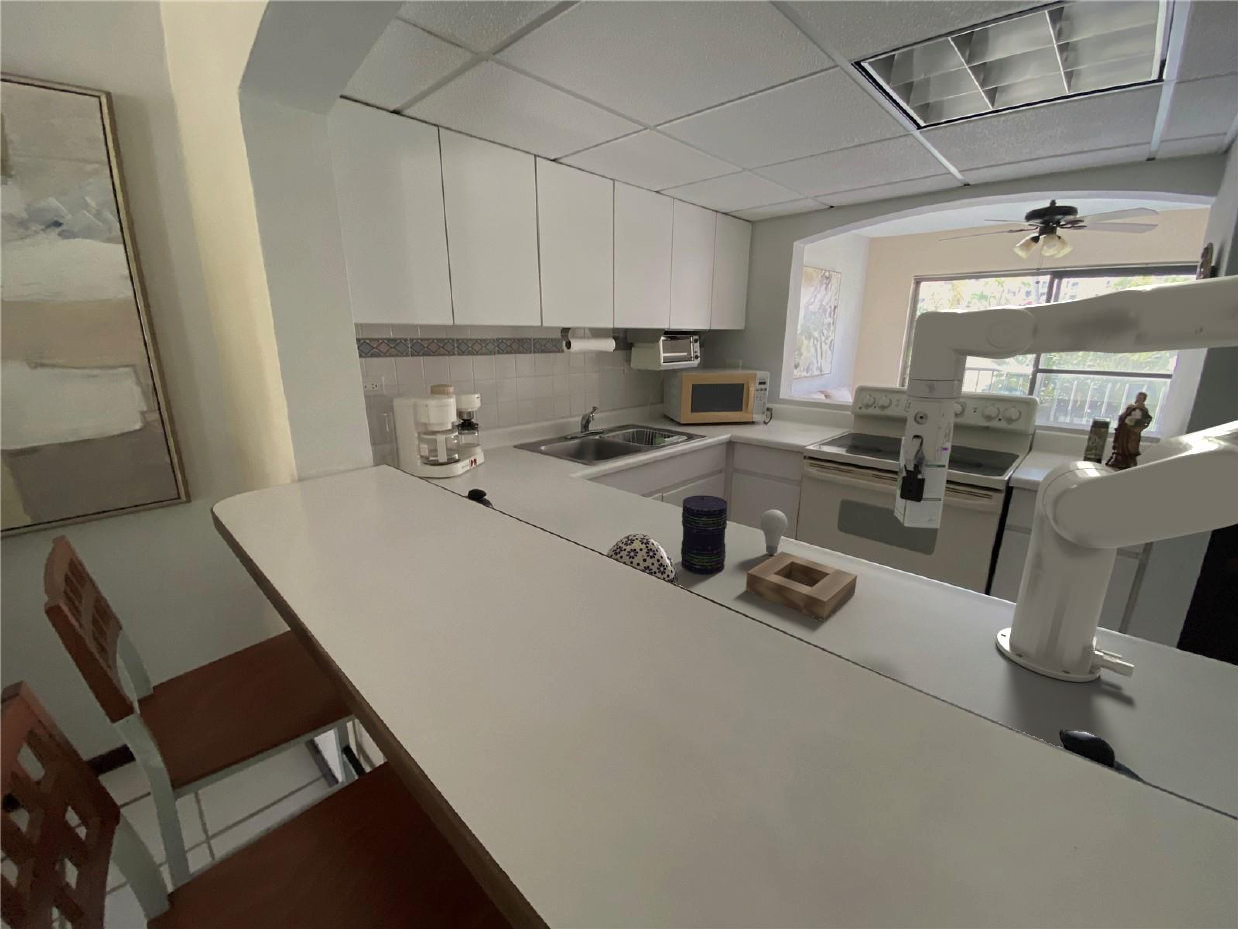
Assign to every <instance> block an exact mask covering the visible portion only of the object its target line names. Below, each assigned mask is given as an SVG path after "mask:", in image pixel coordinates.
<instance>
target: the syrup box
mask: <svg viewBox="0 0 1238 929" xmlns="http://www.w3.org/2000/svg"><path fill="white" fill-rule="evenodd" d="M904 437H905V436H902V438H901V444H900V452H899V453H900V454H899V460H898V470H897V471H898V473H897V479H896V488H895V497H894V508H893V516H894V517H895V519H897V520H898V522H899V523H900V524H901V525H902V526H904V527H907V528H919V529H920V528H922V529H924V528H925V529H940V528H941V522H942V514H943V509H944V508H943V507H944V501H945V493H946V484H947V478H948V470H949V469H948V468H949V460H950V454H951V452H950V447H951V448H952V445H951V444H949V443H947V442H945V443H944V444H943V445H944V446H943V452H942V458H941V461H939V462H938V463H936V464H931V461H928V463H927V466H926V470H925V473H924V476H923V478H926V479H925V486H924V493H923V500H922V501H921V502H915V501H909V500H904V499H901V498H900V491H901V483H902V476H903V470H904V464H905V458H904V457H903V444H904ZM920 453H921V449H920V451H919V453H918V455H917V458H920V459H924V456H922V455H920ZM918 466H919V470H920V467H921V464H918Z"/></svg>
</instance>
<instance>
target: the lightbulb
mask: <svg viewBox="0 0 1238 929" xmlns="http://www.w3.org/2000/svg"><path fill="white" fill-rule="evenodd" d="M788 522H789V521H788V518H787V517H786V515H785V514H784V513H783V512H782V511H781V510H778V509H769V510H766V511H765V512H763V513H762V515H761V517H760V519H759V524H760V525H759V526H760V528H761V530H762V533H763V534H764V535H763V536H764V539H765V540H764V542H765V545H766V546H765V552H766V553H767V554H768V555H771V556H774V555H776V554H778V548H779V545H780V543H781V542H780V541H781V538H782V536H783V534H784V533H785V531H786V530H787V528H788V525H789V524H788Z"/></svg>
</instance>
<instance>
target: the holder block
mask: <svg viewBox="0 0 1238 929" xmlns="http://www.w3.org/2000/svg"><path fill="white" fill-rule="evenodd" d="M857 578H858V575H857V574H854V573H851V572H848V571H845V570H841V569H839V568H835V567H832V566H829V565H825V564H823V563H819V562H817V561H814V560H811V559H807V558H804V557H801V556H798V555H794V554H792V553H788V552H785V551H780V552H777V553H776V554H774V555H772V556H771V557H770V558H768V559H767V560H765V561H763V562H762V563H759V564H758V565H757V566H755V567H753V568H752V569H750V570H748V571H747V572H746V582H745V583H746V584H745V585H746V586H745V590H746V591H747V592H749V593H752V594H755V595H757V596H760V597H762V598H764V599H767V600H769V601H771V602H775V603H777V604H779V605H782V606H784V607H787V608H789V609H791V610H795V611H797V612H800V613H802V614H804V613H805V615H807V614H808V615H807V616H809V615H810V617H812V616H814V617H815V619H817V618H818V619H817V620H819V619H821V620H820V621H822V620H825V619H826V620H827V619H829V617H831V616H832V615H833V614H834V613H835V612H836V611H837V610H838V609H840V608H841V607H842V606H843V605H844V604H845V603H846V602H848V601H849V600H850V599H851V598H852V597H853V596H854V595H855V594H856V588H857V587H856V585H857ZM802 582H803V583H802ZM805 583H806V584H805ZM810 585H812V586H810ZM854 593H855V594H854ZM853 594H854V595H853ZM852 595H853V596H852ZM851 596H852V597H851ZM850 597H851V598H850ZM844 602H845V603H844ZM843 603H844V604H843ZM841 605H842V606H841ZM832 613H833V614H832ZM831 614H832V615H831ZM814 617H813V618H814ZM826 620H825V621H826Z"/></svg>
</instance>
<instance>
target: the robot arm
mask: <svg viewBox="0 0 1238 929" xmlns="http://www.w3.org/2000/svg"><path fill="white" fill-rule="evenodd" d="M912 337H913V338H912V347H911V352H910V361H909V369H908V377H907V384H906V385H907V386H906V392H905V393H906V394H905V400H910V405H909V410H908V414H907V420H906V425H905V432H904V436H903V437H904V444H903V457H904V458H905V464H904V470H903V476H902V483H901V491H900V498H901V499H904V500H909V501H915V502H921V501H922V500H923V493H924V486H925V479H926V478H923V476H924V473H925V470H926V466H927V463H928V461H931V464H936V463H938V462H939V461H941V458H942V452H943V446H944V445H943V444H944V443H945V442H947V443H949V444H951V447H950V453H951V451H952V446H953V445H952V442H953V436H954V435H953V433H954V424H955V423H954V422H955V414H956V413H955V412H956V410H955V407H956V404H955V403H956V402H960V401H961V399H962V398H961V396H962V391H963V384H964V379H965V372H966V366H967V358H968V357H974V358H982V359H989V360H1006V359H1011V358H1015V357H1017V356H1027V355H1039V354H1040V355H1043V354H1054V353H1057V354H1058V353H1076V352H1077V353H1080V352H1083V353H1085V352H1087V353H1104V354H1138V353H1140V354H1141V353H1153V352H1154V353H1157V352H1168V351H1181V350H1182V351H1185V350H1196V349H1197V350H1199V349H1210V348H1211V349H1213V348H1230V347H1238V274H1235V275H1227V276H1220V277H1211V278H1202V279H1194V280H1187V281H1176V282H1175V281H1174V282H1167V283H1160V284H1159V283H1158V284H1150V285H1149V284H1148V285H1143V286H1142V285H1141V286H1136V287H1130V288H1126V289H1120V290H1116V291H1113V292H1108V293H1106V294H1101V295H1097V296H1096V295H1095V296H1092V297H1086V298H1081V299H1080V298H1079V299H1074V300H1067V301H1059V302H1050V303H1043V304H1035V305H1034V304H1033V305H1025V306H1015V305H1003V306H1002V305H1001V306H995V307H989V308H982V309H977V310H976V309H974V310H965V309H964V310H963V309H942V310H941V309H939V310H928V311H924V312H921V313H920V314H919V315H918V316H917V317H916V320H915V323H914V331H913V336H912ZM920 449H921V453H920V455H922V456H924V459H920V458H917V455H918V453H919V451H920ZM918 464H921V467H920V470H919V466H918ZM1035 498H1036V499H1035V505H1034V514H1033V522H1032V527H1031V534H1030V538H1029V539H1030V540H1029V545H1028V549H1027V554H1026V557H1025V562H1024V566H1023V571H1022V575H1021V580H1020V581H1021V582H1020V585H1019V591H1018V595H1017V599H1016V604H1015V608H1014V611H1013V612H1014V613H1013V618H1012V621H1011V627H1007V628H1004V629H1001V630H999V632H997V636H996V637H995V638H996V640H995V643H996V647H998V649H999V650H1000V651H1001V652H1002V654H1004V655H1005V656H1006V657H1007V658H1009V659H1010V660H1012V661H1013V662H1014V663H1017V664H1018V665H1020V666H1021V667H1024V668H1026V669H1028V670H1029V671H1033V672H1035V673H1036V674H1037V673H1038V674H1039V675H1043V676H1046V677H1049V678H1054V679H1057V680H1061V681H1067V682H1074V683H1075V682H1079V683H1082V682H1083V683H1084V682H1091V681H1094V680H1096V679H1098V678H1099V677H1100V675H1101V671H1102V669H1104V670H1107V671H1110V672H1113V673H1114V674H1117V675H1122V676H1123V677H1126V678H1129V679H1131V678H1132V676H1133V672H1134V666H1135V665H1134V664H1132V663H1129V662H1126V661H1122V658H1123V655H1122V654H1119V653H1116V652H1112V651H1108V650H1104V649H1101V646H1098V645H1096V643H1097V637H1096V633H1097V629H1098V625H1099V621H1100V617H1101V613H1102V609H1103V606H1104V601H1105V598H1106V594H1107V590H1108V586H1109V582H1110V580H1111V579H1110V578H1111V576H1112V572H1113V568H1114V565H1115V561H1116V556H1117V551H1118V548H1123V547H1130V546H1136V545H1141V544H1147V543H1151V542H1158V541H1162V540H1168V539H1171V538H1179V537H1182V536H1188V535H1193V534H1197V533H1203V532H1208V531H1213V530H1218V529H1222V528H1226V527H1230V526H1234V525H1236V524H1237V525H1238V420H1234V421H1230V422H1227V423H1222V424H1221V425H1220V424H1219V425H1216V426H1213V427H1208V428H1205V429H1202V430H1198V431H1194V432H1190V433H1187V434H1182V435H1178V436H1174V437H1171V438H1167V439H1164V440H1161V441H1158V442H1157V443H1155V444H1152V445H1151V446H1149V447H1148V448H1147V449H1145V451H1144V452H1142V454H1141V455H1140V456H1139V458H1138V460H1137V464H1136V466H1134V467H1133V466H1132V467H1129V468H1126V469H1122V470H1118V471H1115V470H1114V469H1112V468H1110V467H1108V466H1107V465H1104V464H1102V463H1098V462H1095V461H1087V460H1075V461H1070V462H1069V461H1068V462H1066V463H1063V464H1060V465H1058V466H1055V467H1054V468H1053V469H1052V470H1050V471H1049V472H1048V473H1046V474H1045V476H1044V477H1043V478H1042V480H1041V482H1040V483H1039V486H1038V489H1037V493H1036V497H1035Z"/></svg>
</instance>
